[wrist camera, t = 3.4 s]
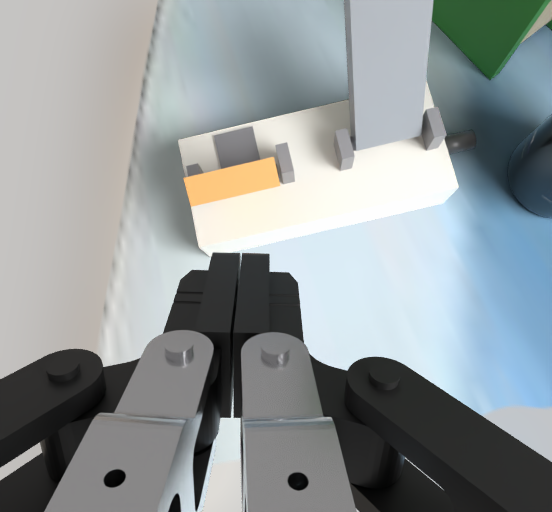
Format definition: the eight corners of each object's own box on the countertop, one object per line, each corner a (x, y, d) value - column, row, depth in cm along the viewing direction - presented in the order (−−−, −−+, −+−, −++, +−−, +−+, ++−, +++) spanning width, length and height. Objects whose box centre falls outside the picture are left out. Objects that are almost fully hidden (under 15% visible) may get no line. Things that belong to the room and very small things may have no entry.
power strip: (452, 98, 38) (479, 52, 32) (482, 194, 36) (516, 165, 30) (191, 160, 38) (169, 126, 32) (210, 257, 37) (191, 240, 31)
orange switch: (275, 160, 33) (277, 155, 23) (280, 181, 33) (284, 185, 23) (207, 177, 33) (179, 179, 23) (212, 197, 34) (186, 207, 23)
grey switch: (416, 127, 34) (429, -34, 25) (423, 139, 33) (439, -23, 24) (348, 143, 34) (339, -12, 25) (353, 156, 33) (346, 0, 25)
